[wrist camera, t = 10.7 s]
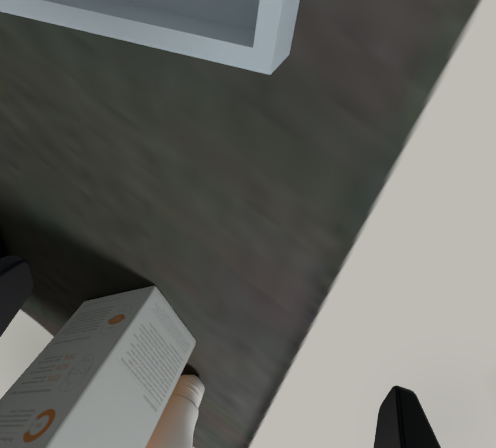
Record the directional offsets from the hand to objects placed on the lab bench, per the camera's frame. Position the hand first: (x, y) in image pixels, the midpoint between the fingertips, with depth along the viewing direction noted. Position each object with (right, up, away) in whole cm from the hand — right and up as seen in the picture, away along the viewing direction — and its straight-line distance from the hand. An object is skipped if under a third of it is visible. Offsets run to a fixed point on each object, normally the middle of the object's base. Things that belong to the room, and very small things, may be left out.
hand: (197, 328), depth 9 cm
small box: (-7, -5, +23) cm, 25 cm away
